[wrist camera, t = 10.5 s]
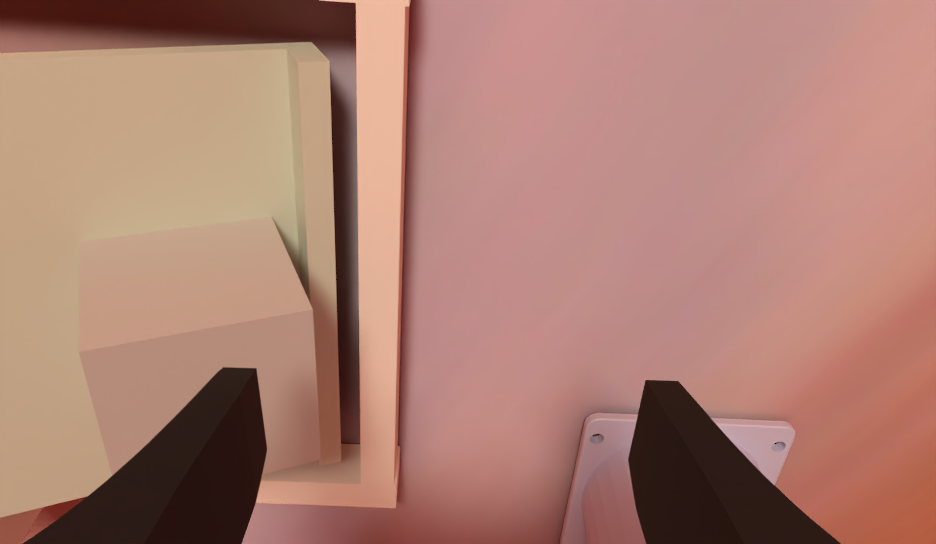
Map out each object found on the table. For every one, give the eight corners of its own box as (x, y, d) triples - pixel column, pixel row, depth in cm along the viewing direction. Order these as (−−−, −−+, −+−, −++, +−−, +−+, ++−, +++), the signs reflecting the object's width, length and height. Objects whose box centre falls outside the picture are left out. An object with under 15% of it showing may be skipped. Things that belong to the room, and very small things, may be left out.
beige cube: (283, 352, 24) (321, 459, 20) (115, 386, 22) (122, 511, 18) (271, 216, 21) (312, 309, 17) (80, 241, 19) (78, 351, 15)
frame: (399, 481, 29) (384, 644, 23) (-159, 459, 28) (-319, 623, 22) (416, -92, 18) (396, -56, 13) (-489, -162, 17) (-964, -157, 12)
